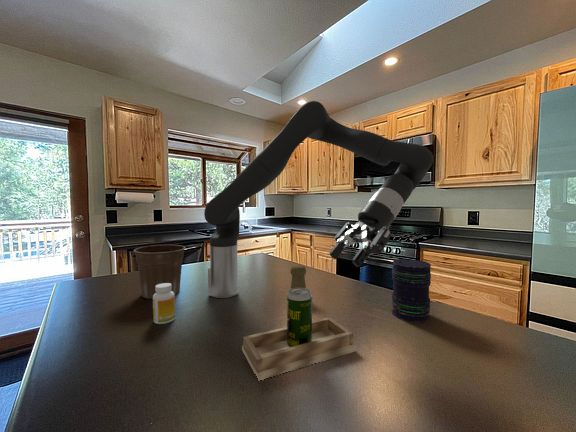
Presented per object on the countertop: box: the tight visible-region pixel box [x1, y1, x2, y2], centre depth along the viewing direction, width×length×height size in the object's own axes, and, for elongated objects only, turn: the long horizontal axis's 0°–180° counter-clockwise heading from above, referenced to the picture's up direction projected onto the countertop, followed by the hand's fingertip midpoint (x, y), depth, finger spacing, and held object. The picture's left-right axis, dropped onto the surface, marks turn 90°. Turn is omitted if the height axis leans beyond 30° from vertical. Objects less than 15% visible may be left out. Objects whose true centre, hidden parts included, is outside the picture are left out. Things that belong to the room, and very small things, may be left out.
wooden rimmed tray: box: [241, 316, 357, 382], centre depth 57 cm, size 22×11×4 cm, turn 116°
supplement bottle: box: [152, 283, 176, 325], centre depth 72 cm, size 5×5×10 cm
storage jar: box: [391, 258, 432, 324], centre depth 75 cm, size 10×10×15 cm
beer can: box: [286, 287, 313, 348], centre depth 57 cm, size 5×5×12 cm
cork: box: [289, 264, 307, 290], centre depth 88 cm, size 6×6×11 cm
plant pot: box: [133, 244, 186, 300], centre depth 93 cm, size 16×16×16 cm
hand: (342, 260), depth 61 cm, fingers open, 8 cm apart
